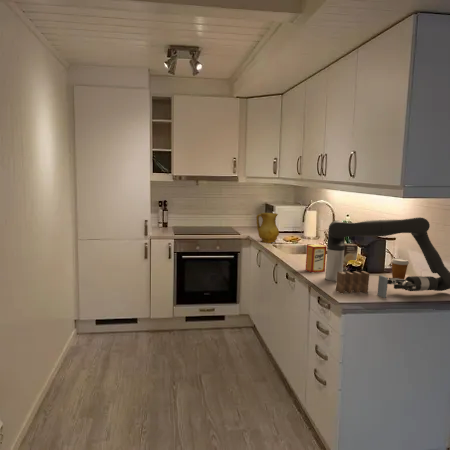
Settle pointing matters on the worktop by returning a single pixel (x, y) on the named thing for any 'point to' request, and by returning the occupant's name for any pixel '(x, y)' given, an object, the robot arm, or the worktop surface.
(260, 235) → the pitcher
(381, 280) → the domino
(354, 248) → the coffee box
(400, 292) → the worktop surface
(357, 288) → the domino
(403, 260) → the disposable coffee cup
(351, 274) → the domino
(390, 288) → the worktop surface
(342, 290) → the domino
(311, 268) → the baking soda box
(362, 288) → the domino
